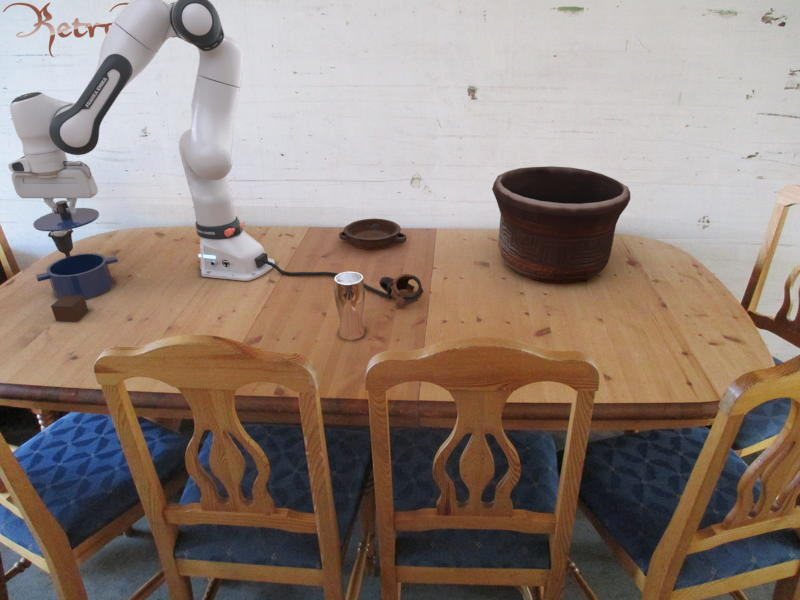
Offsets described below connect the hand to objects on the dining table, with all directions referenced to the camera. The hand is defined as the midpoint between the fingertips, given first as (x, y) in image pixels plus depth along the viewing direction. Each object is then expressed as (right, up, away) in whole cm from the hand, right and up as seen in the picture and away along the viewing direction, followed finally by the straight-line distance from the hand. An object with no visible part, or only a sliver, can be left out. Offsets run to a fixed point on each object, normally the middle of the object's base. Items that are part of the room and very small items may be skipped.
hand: (64, 213), depth 151 cm
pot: (0, -20, +9) cm, 22 cm away
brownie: (+4, -27, -4) cm, 28 cm away
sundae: (-12, -12, +24) cm, 29 cm away
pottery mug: (+89, -23, +2) cm, 91 cm away
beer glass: (+77, -31, -13) cm, 84 cm away
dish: (+79, -4, +35) cm, 87 cm away
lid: (0, -2, +1) cm, 2 cm away
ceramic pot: (+133, -13, +18) cm, 134 cm away
